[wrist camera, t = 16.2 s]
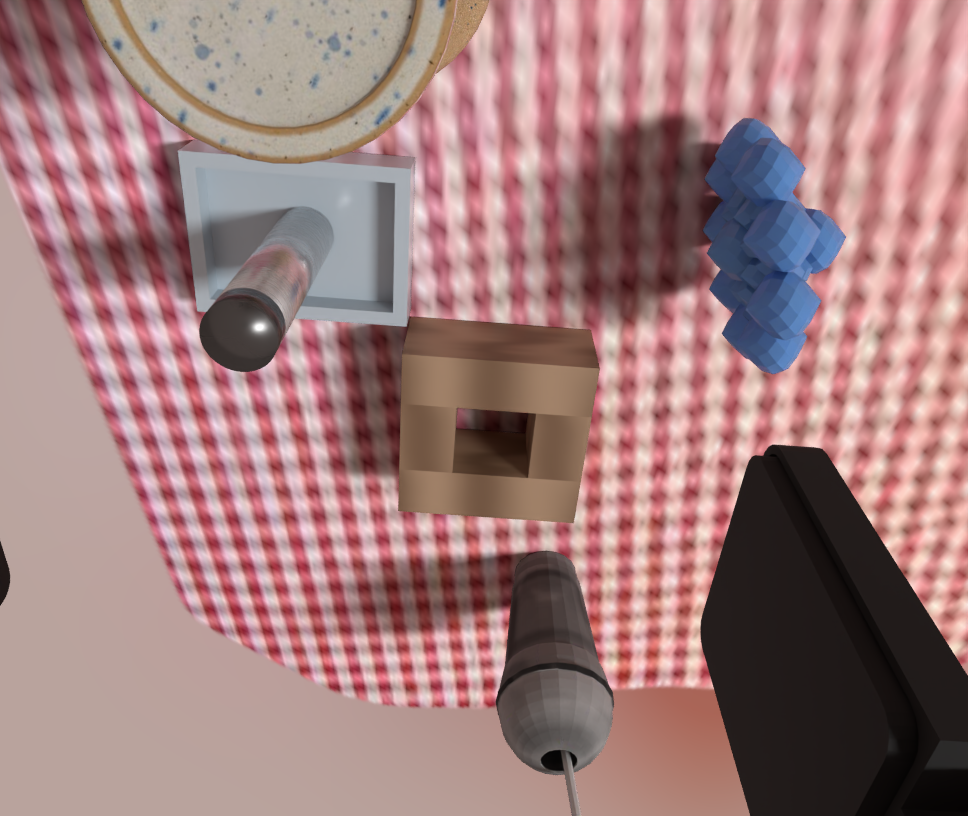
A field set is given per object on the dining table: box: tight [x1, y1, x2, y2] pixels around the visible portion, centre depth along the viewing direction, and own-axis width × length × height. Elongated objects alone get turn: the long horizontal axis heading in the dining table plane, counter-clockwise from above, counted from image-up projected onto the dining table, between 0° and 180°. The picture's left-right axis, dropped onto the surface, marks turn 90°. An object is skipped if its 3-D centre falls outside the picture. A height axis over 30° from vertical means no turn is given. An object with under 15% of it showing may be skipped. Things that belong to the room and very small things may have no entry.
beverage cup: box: [496, 551, 614, 816], centre depth 50 cm, size 7×7×20 cm
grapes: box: [703, 118, 846, 374], centre depth 39 cm, size 12×7×12 cm, turn 7°
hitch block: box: [398, 317, 600, 523], centre depth 49 cm, size 11×11×5 cm
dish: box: [178, 140, 415, 327], centre depth 44 cm, size 12×9×2 cm
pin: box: [199, 206, 334, 372], centre depth 38 cm, size 3×3×14 cm
